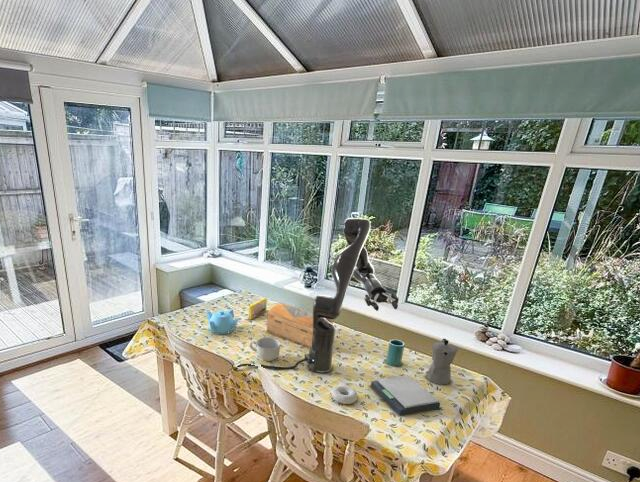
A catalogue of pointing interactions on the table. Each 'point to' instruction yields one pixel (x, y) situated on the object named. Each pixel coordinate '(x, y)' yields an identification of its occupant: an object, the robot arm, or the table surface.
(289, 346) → the table surface
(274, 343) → the teacup
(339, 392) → the donut
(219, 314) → the teapot
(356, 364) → the table surface
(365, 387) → the table surface
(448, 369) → the coffeepot
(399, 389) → the scale
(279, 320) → the wooden box
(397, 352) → the canister
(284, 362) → the table surface
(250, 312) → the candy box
